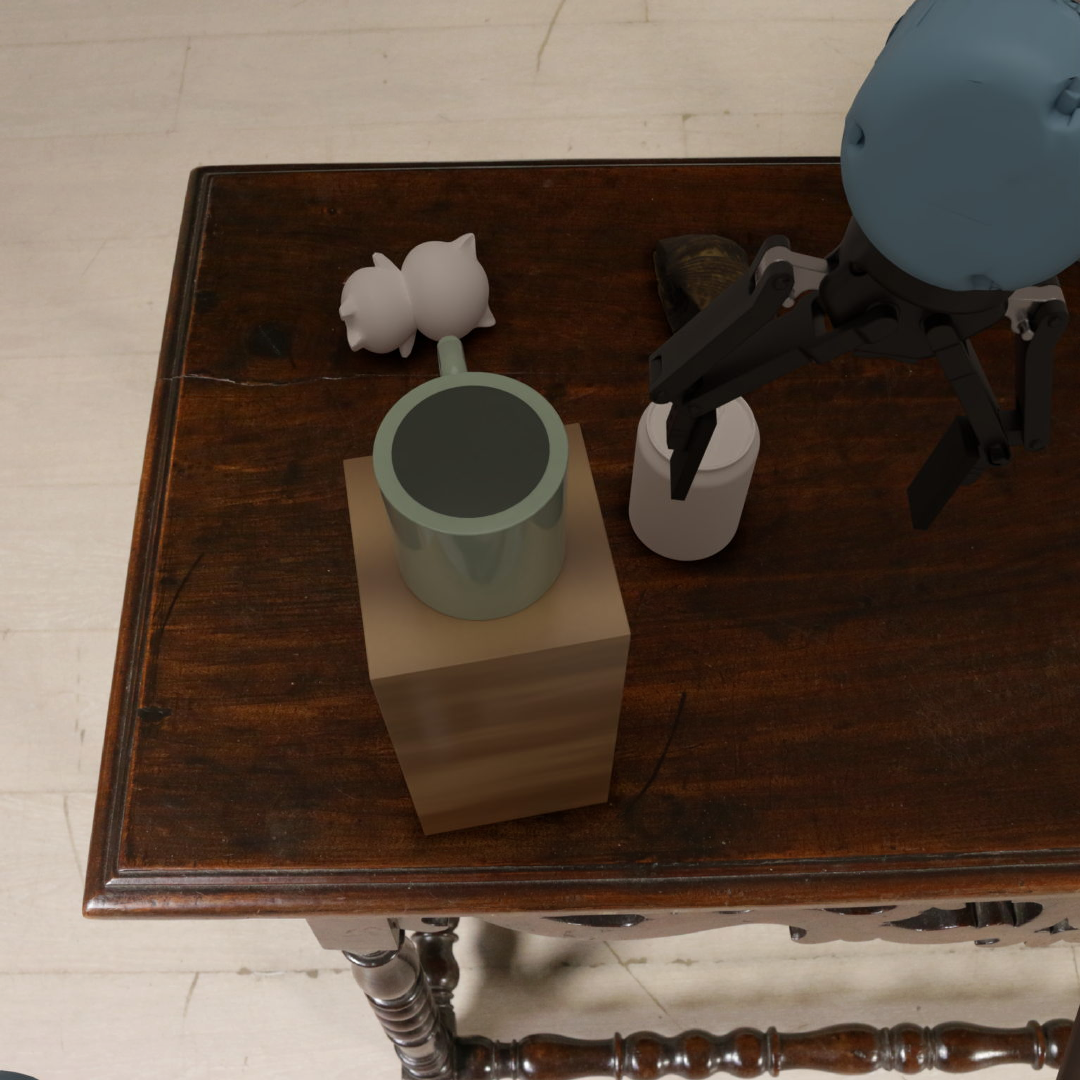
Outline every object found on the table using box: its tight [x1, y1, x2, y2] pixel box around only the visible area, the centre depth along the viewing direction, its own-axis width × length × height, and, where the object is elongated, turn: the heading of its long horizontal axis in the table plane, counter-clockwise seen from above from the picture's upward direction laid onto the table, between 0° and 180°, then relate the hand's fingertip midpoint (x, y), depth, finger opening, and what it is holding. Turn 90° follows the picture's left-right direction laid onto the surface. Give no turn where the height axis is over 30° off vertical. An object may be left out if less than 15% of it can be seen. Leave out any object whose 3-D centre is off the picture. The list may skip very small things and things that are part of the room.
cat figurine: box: [338, 232, 497, 359], centre depth 93 cm, size 9×11×12 cm
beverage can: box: [628, 396, 761, 562], centre depth 81 cm, size 8×8×12 cm
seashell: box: [652, 233, 778, 336], centre depth 93 cm, size 16×9×7 cm, turn 14°
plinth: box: [342, 422, 632, 837], centre depth 67 cm, size 12×12×26 cm
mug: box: [372, 335, 569, 620], centre depth 53 cm, size 12×8×8 cm
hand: (797, 495), depth 64 cm, fingers open, 13 cm apart
